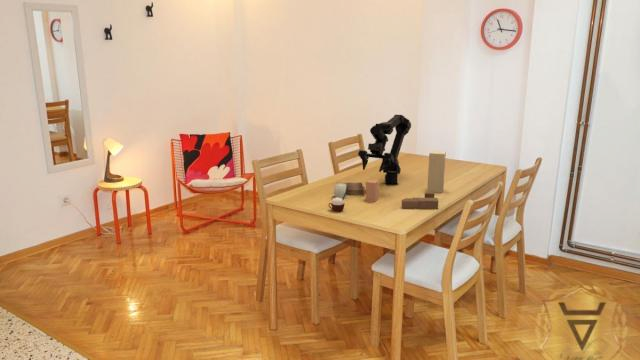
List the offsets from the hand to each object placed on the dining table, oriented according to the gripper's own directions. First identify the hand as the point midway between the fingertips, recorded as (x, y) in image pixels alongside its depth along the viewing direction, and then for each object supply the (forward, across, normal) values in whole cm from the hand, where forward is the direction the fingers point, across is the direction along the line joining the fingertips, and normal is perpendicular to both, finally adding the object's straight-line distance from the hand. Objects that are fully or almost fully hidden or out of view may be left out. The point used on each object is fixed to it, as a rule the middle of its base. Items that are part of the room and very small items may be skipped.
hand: (371, 170), depth 269 cm
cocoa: (+30, -3, -14) cm, 33 cm away
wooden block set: (+12, +27, +8) cm, 30 cm away
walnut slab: (+10, -13, +9) cm, 19 cm away
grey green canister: (+17, -12, 0) cm, 21 cm away
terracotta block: (+15, +4, +2) cm, 16 cm away
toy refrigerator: (-5, +26, +27) cm, 38 cm away
